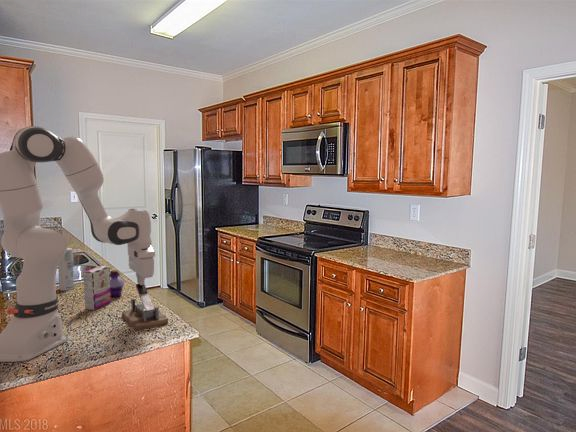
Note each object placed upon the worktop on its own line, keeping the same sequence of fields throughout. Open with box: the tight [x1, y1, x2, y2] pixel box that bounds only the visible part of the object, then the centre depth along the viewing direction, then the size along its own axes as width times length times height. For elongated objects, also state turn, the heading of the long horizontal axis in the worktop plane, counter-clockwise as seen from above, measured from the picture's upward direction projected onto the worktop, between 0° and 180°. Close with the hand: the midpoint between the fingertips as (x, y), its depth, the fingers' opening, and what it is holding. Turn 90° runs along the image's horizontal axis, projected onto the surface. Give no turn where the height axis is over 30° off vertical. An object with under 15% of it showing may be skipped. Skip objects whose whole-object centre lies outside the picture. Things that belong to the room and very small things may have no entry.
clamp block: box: [130, 298, 160, 323], centre depth 151 cm, size 16×6×5 cm, turn 38°
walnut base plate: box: [121, 309, 169, 332], centre depth 152 cm, size 18×12×2 cm, turn 38°
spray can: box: [57, 247, 75, 292], centre depth 191 cm, size 6×6×20 cm
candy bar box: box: [82, 265, 112, 311], centre depth 167 cm, size 11×5×16 cm, turn 168°
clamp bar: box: [135, 283, 155, 312], centre depth 150 cm, size 14×3×1 cm, turn 38°
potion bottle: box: [110, 270, 125, 299], centre depth 181 cm, size 9×9×12 cm
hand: (140, 284), depth 154 cm, fingers closed
